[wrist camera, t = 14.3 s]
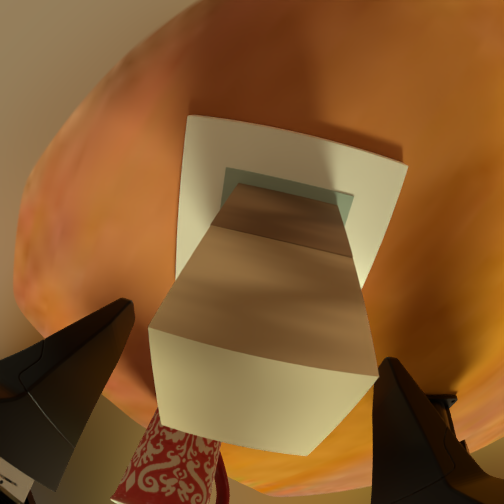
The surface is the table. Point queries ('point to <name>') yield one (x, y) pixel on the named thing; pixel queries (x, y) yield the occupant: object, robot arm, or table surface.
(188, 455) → the mug
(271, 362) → the maple cube
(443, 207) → the table surface
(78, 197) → the table surface
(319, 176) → the plate
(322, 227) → the walnut cube
